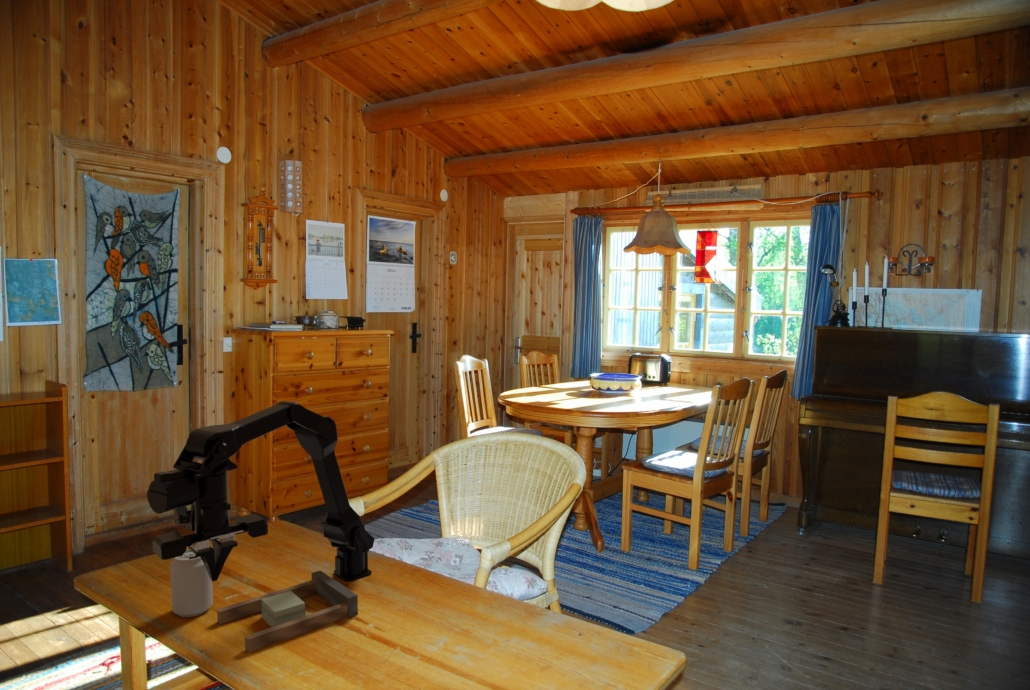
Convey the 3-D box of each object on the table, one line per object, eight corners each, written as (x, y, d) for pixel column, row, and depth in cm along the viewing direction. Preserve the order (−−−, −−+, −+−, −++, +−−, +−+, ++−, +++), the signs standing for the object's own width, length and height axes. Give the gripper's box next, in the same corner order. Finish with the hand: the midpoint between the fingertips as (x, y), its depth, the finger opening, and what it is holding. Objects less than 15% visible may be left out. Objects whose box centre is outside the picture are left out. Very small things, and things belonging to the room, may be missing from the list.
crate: (291, 609, 142) (290, 590, 141) (305, 622, 136) (305, 602, 136) (261, 618, 138) (260, 599, 137) (275, 632, 132) (274, 612, 132)
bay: (320, 588, 151) (320, 570, 151) (357, 614, 139) (357, 595, 139) (217, 621, 136) (216, 601, 136) (249, 653, 124) (248, 632, 124)
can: (197, 620, 136) (194, 562, 135) (163, 617, 138) (161, 558, 137) (220, 603, 143) (218, 547, 142) (188, 600, 145) (186, 544, 144)
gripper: (244, 478, 138) (247, 554, 139) (142, 498, 125) (145, 581, 127) (268, 491, 130) (270, 571, 131) (160, 513, 117) (164, 602, 119)
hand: (213, 580), depth 127 cm, fingers closed
